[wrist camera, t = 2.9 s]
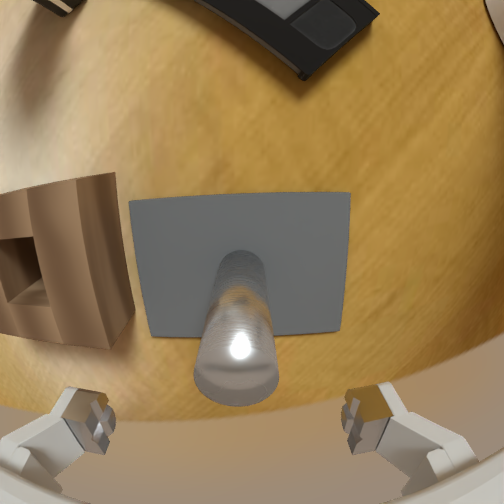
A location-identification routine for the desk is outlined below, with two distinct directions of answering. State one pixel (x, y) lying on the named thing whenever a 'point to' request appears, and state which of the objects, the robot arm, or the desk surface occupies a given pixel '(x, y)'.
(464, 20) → the desk surface
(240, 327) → the peg
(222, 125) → the desk surface
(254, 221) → the mat
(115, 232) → the hole block
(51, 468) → the robot arm
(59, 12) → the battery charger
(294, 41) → the vhs tape
